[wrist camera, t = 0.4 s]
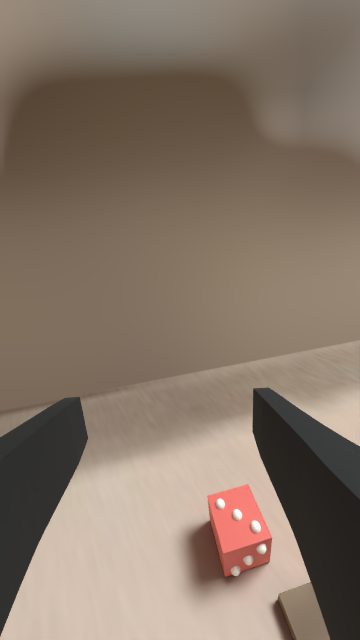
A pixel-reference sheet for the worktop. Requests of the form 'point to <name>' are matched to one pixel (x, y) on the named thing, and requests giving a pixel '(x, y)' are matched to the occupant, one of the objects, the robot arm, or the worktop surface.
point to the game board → (303, 613)
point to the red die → (239, 530)
